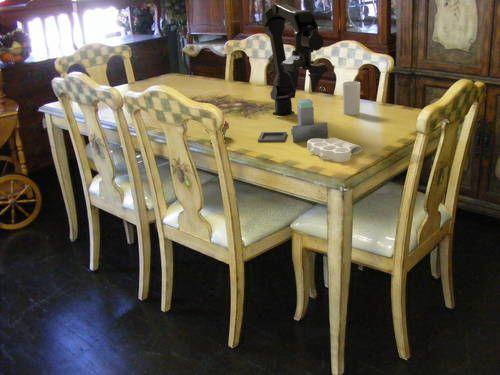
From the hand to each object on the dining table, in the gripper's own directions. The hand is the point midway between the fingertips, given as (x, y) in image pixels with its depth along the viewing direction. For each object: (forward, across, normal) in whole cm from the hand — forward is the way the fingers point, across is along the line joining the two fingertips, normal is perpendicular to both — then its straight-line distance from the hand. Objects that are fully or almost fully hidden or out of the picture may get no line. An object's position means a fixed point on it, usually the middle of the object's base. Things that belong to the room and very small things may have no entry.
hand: (304, 90), depth 221 cm
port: (+13, +11, -11) cm, 20 cm away
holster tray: (+13, +4, -20) cm, 24 cm away
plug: (+13, +11, -11) cm, 20 cm away
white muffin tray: (+14, +30, -18) cm, 37 cm away
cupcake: (+13, -12, -32) cm, 37 cm away
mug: (+13, +2, +23) cm, 27 cm away
